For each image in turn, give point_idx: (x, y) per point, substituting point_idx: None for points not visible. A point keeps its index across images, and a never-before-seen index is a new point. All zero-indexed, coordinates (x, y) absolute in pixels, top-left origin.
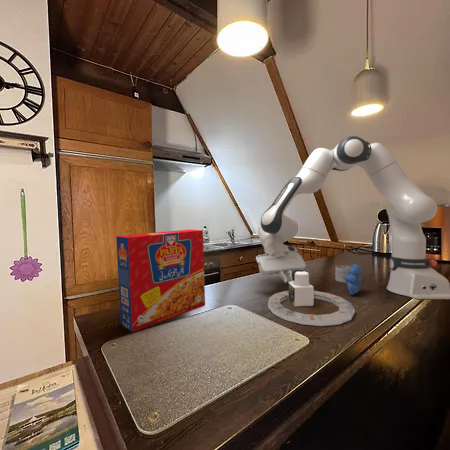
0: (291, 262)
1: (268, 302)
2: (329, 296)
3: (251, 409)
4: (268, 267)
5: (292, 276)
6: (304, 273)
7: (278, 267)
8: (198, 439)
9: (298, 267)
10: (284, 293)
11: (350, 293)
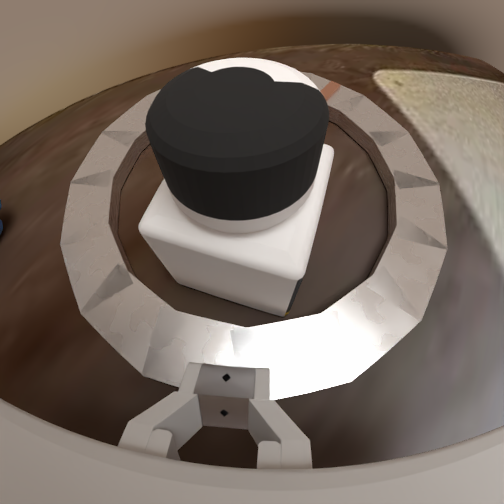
0: (23, 501)
1: (444, 252)
2: (95, 203)
3: (466, 59)
4: (500, 468)
5: (322, 148)
6: (243, 58)
7: (345, 499)
8: (495, 69)
9: (12, 407)
10: (293, 356)
11: (1, 229)
